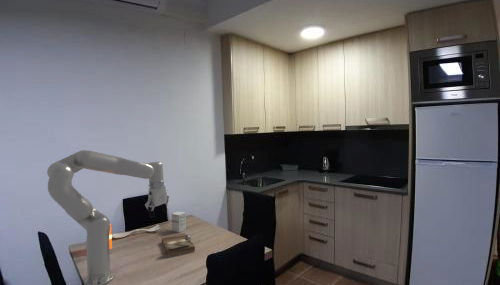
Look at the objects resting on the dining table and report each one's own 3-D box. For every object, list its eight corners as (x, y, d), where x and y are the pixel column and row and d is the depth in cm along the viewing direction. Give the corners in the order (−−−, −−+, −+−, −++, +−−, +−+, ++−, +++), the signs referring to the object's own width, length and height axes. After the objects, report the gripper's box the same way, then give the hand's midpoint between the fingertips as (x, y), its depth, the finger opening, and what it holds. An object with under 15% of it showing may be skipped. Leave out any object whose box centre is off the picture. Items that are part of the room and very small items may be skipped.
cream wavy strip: (161, 232, 189) (161, 227, 189) (110, 241, 175) (110, 236, 175) (159, 228, 197) (159, 223, 197) (110, 237, 183) (110, 231, 183)
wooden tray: (194, 251, 157) (194, 241, 157) (168, 257, 150) (168, 246, 150) (185, 237, 178) (184, 228, 178) (161, 242, 172) (161, 232, 171)
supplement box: (171, 231, 191) (170, 213, 190) (178, 227, 197) (178, 210, 197) (179, 232, 187) (178, 215, 187) (186, 229, 194) (186, 212, 194)
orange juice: (106, 244, 169) (104, 213, 169) (112, 248, 164) (111, 215, 163) (92, 248, 163) (91, 216, 163) (98, 252, 158) (97, 219, 157)
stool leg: (189, 243, 160) (189, 237, 160) (190, 245, 157) (190, 239, 157) (166, 248, 154) (166, 241, 154) (167, 250, 151) (167, 243, 151)
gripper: (150, 188, 138) (152, 220, 139) (172, 181, 154) (174, 210, 155) (139, 187, 141) (141, 219, 142) (162, 180, 157) (164, 209, 158)
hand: (158, 214), depth 149 cm, fingers open, 9 cm apart
